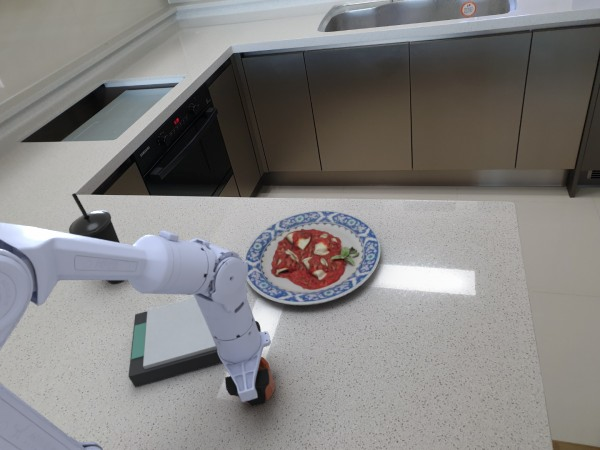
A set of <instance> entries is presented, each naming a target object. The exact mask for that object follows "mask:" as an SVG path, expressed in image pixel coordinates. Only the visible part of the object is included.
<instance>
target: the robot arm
mask: <svg viewBox="0 0 600 450" xmlns="http://www.w3.org/2000/svg"><path fill="white" fill-rule="evenodd" d="M179 238H180V236H179V234H177V233H174V232H171V231H169V230H163V229H162V230H160V231H159V234H158V235H156V234H147V235H144V236H140V238H138V239H137V240H136V241H135V242H134V243H133V244H128V243H123V242H120V243H118V242H112V241H107V240H102V239H96V238H91V237H85V236H80V235H74V234H70V233H69V232H63V231H57V230H52V229H51V230H50V229H46V228H41V227H36V226H30V225H22V224H15V223H7V222H1V221H0V351H1V350H2V348H3V346H4V345H5V344H6V342H7V341H8V340H9V338H10V336H11V335H12V333H13V332H14V330H15V328H16V327H17V326H18V325H19V323H20V321H21V320H22V318H23V316H24V315H25V312H26V311H27V309H28V307H29V305H30V303H33V304H34V305H35V306H37V307H39V306H42V305H43V304H45V303H46V301H47V300H48V298H49V297H50V295H51V293H52V292H53V290H54V288H55V287H56V286H57V284H58V283H59V282H61V281H107V280H124V281H128V283H129V284H130V286H131V287H132V288H133V289H134V290H135V291H136V292H138V293H140V294H145V295H146V294H147V295H148V294H149V295H150V294H151V295H179V296H180V295H181V296H182V295H184V296H193V297H195V299H196V301H197V303H198V306H199V308H200V310H201V313H202V315H203V317H204V319H205V322H206V324H207V326H208V329H209V331H210V333H211V335H212V338H213V340H214V342H215V345H216V347H217V352H218V355H219V358H220V360H221V361H222V363H221V364H222V365H223V366H224V368H225V369H226V371H227V374H228V375H229V376H226V377H224V380H225V381H224V383H225V389H226V391H227V393H228V395H229V396H232V397H233V396H234V397H238V398H239V400H240V401H241V403H244V402H245V401H246V402H247V403H248V404H247V403H246V404H247V405H249V406H250V407H256V406H260V405H263V404H265V403H266V402H267V401H266V392H265V390H266V387H267V386H268V384H269V372H268V368H266V369H262V370H259V371H258V367H259V363H260V359H261V357H262V355H263V351H264V348H266V347H269V346H270V345H271V344H272V343H271V342H272V341H271V335H270V333H269V331H267V330H264V331H262V330H261V324H260V322H259V321H257V320H256V319H255V317H254V314H253V310H252V308H251V305H250V302H249V298H248V294H247V293H248V288H247V280H246V279H247V274H248V264H247V261H245V262H244V261H243V260H244V259H242V257H241V256H240V254H238V253H237V252H235V251H233V250H230V249H227V248H225V247H223V246H219V245H216V244H214V243H211V241H209V240H206V239H204V238H199V237H195V238H191V239H190V240H186V239H185V240H184V239H179ZM0 450H104V449H103V447H102V446H101V445H100V444H99V443H97V442H95V441H79V440H77V439H75V438H74V437H73V436H71V435H70V436H69V434H67V433H65V431H63V430H62V429H61V428H59V427H58V426H57V425H56V424H54V423H53V422H52V421H50V420H49V419H48V418H47V417H45V416H44V415H43V414H41V412H39V411H37V410H36V409H35V408H33V407H32V406H31V405H30V404H29V403H27V402H26V401H25V400H24V399H23V398H21V397H20V396H18V394H16V393H15V392H13V391H12V390H11V389H10V388H8V387H7V386H5V385H4V384H3V383H2V382H0Z"/></svg>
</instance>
